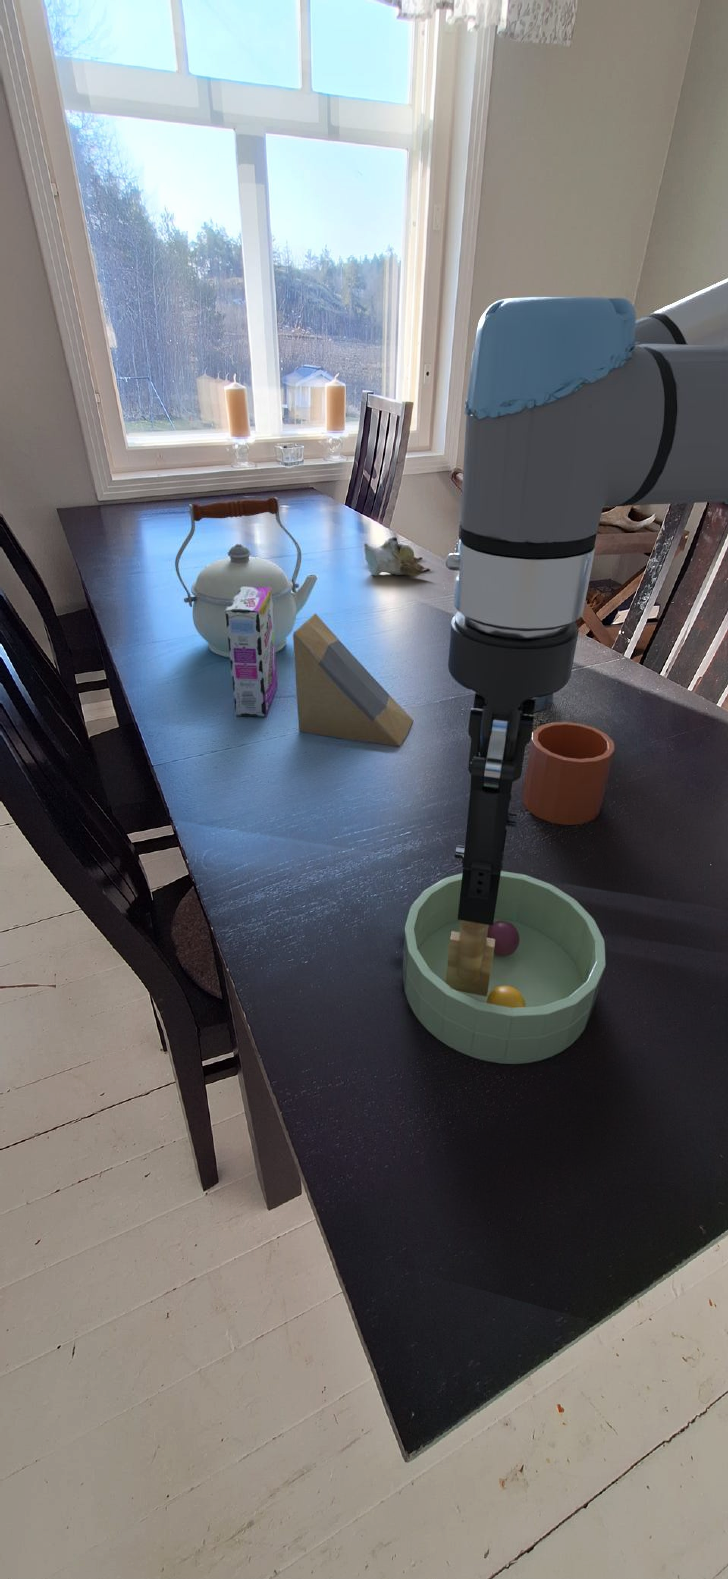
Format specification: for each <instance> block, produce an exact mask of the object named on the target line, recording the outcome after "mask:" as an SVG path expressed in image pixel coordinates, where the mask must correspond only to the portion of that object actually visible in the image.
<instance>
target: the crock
mask: <svg viewBox="0 0 728 1579" xmlns="http://www.w3.org/2000/svg"><path fill="white" fill-rule="evenodd" d="M614 754H615V742H614V740H613V739H612V738H611V737H610V736H609V735H608V734H607V733H605V732H603V731H601V730H600V729H598V728H597V727H593V726H590V725H587V724H583V723H580V722H570V721H557V722H548V723H546V724H542V725H539V726H538V727H537V728H535V729H534V730H533V731H532V734H531V740H530V745H529V751H528V757H527V762H526V763H527V764H526V770H525V776H524V782H523V787H522V788H523V789H522V796H521V802H522V804H523V805H524V807H525V809H526V810H527V811H528V812H530V813H531V814H532V815H533V816H535V817H537V818H539V819H541V820H544V821H546V822H549V823H551V824H558V825H565V826H573V825H574V826H575V825H583V824H586V823H588V822H590V821H593V820H595V819H596V817H597V816H598V815H599V814H600V812H601V808H602V804H603V800H604V796H605V792H606V787H607V783H608V779H609V775H610V772H611V767H612V762H613V758H614Z"/></svg>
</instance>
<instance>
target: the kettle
mask: <svg viewBox="0 0 728 1579" xmlns="http://www.w3.org/2000/svg"><path fill="white" fill-rule="evenodd" d="M188 507H189V510H188V515H189V516H190V523H191V524H190V525H191V527H190V531H189V533H188V535H187V537H186V538H185V539H184V541H183V543H182V544H181V546H180V548H179V549H178V552H177V554H176V556H175V560H174V567H175V573H176V575H177V577H178V579H179V581H180V584H181V586H183V588H184V590H185V592H186V594H187V597H184V598H183V602H184V603H185V604H186V603H188V606H189V607H190V608H192V622H193V625H194V628H195V630H196V631H197V633H198V634H199V636H200V637H201V638H202V639H203V640H205V641H206V642H207V644H208V649H209V650H210V651H211V652H213V653H214V654H215V655H218V656H220V657H225V658H229V659H230V653H229V643H228V633H227V622H226V614H225V610H226V609H227V607H228V606H229V604H230V603H231V601H232V600H233V598H234V597H235V596H236V594H237V593H238V591H239V590H240V588H241V587H268V588H272V603H273V619H274V638H275V654H276V653H278V652H279V651H281V650H282V649H284V647H285V646H286V644H287V638H288V636H289V635H290V634H291V632H292V631H293V629H294V627H295V624H296V619H297V615H298V614H299V613H300V612H301V610H302V609H303V608H304V607H305V605H306V603H307V601H308V600H309V597H310V596H311V594H312V591H313V589H314V588H315V586H316V582H317V580H318V578H319V576H318V575H315V574H307V576H306V577H305V579H304V581H303V582H302V583H301V585H300V584H299V583H298V582H296V581H297V578H298V575H299V572H300V569H301V564H302V550H301V546H300V544H299V543H298V541H297V540H296V539H295V538H294V537H293V535H292V534H291V533H290V532H289V531H288V530H287V529H286V527H285V526H284V525H283V524H282V521H281V517H280V502H279V498H278V497H276V496H269V497H268V498H267V499H257V498H256V499H254V498H247V499H242V500H240V499H237V500H235V499H234V500H228V501H215V502H210V503H206V504H201V505H200V504H199V503H197V502H195V503H192V504H191V503H190V504H189V506H188ZM264 513H269V514H271V515H275V520H276V523H277V524H278V525H279V527H280V528H281V529H282V531H284V533H285V534H286V535H287V536H288V537H289V538H290V539H291V541H292V543H293V544H294V545H295V548H296V554H297V555H296V563H295V567H294V570H293V573H292V576H291V578H289V577H287V575H286V573H285V571H284V570H283V569H282V568H281V567H280V566H279V565H278V564H276V563H274V562H273V561H270V560H268V559H266V558H262V557H257V556H251V555H252V551H251V550H249V548H248V547H246V546H245V545H242V544H241V543H236V544H235V545H234V546H232V547H230V549H229V551H228V552H227V556H228V557H224V558H221V559H217V560H215V561H213V562H211V563H209V564H208V565H206V566H204V567H203V568H202V570H200V572H199V574H198V575H197V577H196V581H194V583H193V584H192V585H191V586H190V591H189V590H188V588H187V586H186V585H185V582H184V581H183V579H182V577H181V573H180V568H179V563H180V559H181V557H182V554H183V553H184V551H185V550H186V548H187V547H188V545H189V543H190V541H191V539H192V538H193V536H194V535H195V530H196V522H200V521H201V520H203V519H227V518H238V517H239V518H242V517H252V516H257V515H261V514H264ZM190 592H191V593H190ZM191 594H192V595H193V596H192V595H191Z"/></svg>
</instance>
